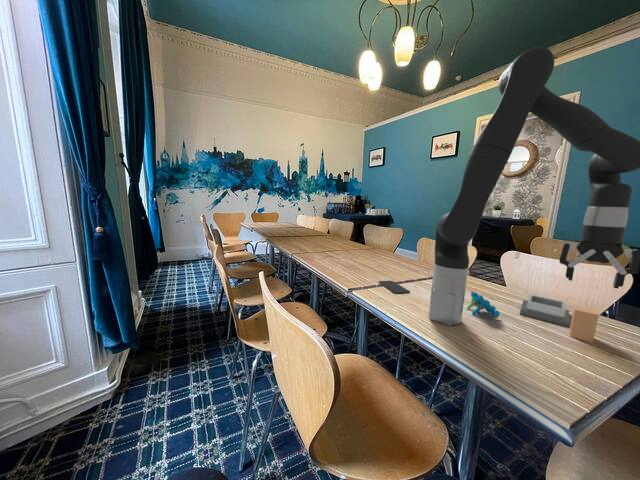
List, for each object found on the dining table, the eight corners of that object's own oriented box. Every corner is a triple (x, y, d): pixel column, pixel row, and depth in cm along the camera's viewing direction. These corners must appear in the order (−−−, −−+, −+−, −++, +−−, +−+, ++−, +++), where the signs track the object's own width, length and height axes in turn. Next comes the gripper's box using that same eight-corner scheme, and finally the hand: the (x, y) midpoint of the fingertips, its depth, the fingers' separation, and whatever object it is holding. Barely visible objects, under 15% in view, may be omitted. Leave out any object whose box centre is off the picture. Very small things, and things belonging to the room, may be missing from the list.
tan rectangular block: (592, 342, 68) (598, 315, 67) (569, 336, 71) (575, 309, 69) (590, 336, 71) (596, 310, 70) (569, 331, 74) (574, 305, 73)
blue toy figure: (508, 318, 77) (485, 294, 77) (493, 330, 77) (470, 306, 78) (486, 308, 88) (466, 286, 88) (473, 319, 88) (453, 298, 89)
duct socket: (569, 327, 76) (572, 313, 75) (519, 314, 84) (521, 301, 84) (567, 314, 86) (570, 301, 85) (523, 303, 94) (525, 292, 93)
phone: (392, 280, 115) (411, 291, 100) (391, 282, 115) (411, 293, 101) (377, 281, 113) (394, 292, 99) (377, 282, 113) (394, 294, 99)
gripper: (566, 222, 68) (556, 280, 70) (651, 227, 58) (636, 294, 61) (565, 221, 73) (556, 275, 76) (643, 226, 64) (629, 287, 66)
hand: (592, 283), depth 68 cm, fingers open, 8 cm apart
